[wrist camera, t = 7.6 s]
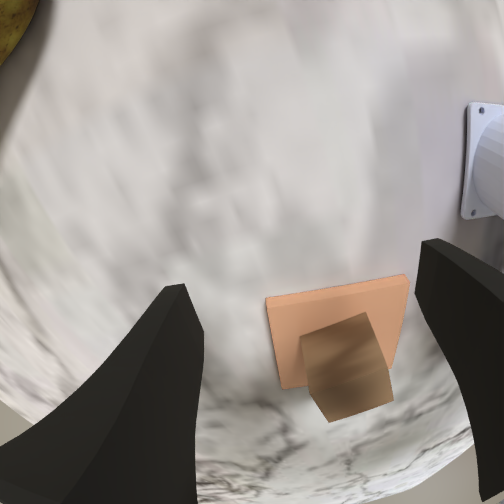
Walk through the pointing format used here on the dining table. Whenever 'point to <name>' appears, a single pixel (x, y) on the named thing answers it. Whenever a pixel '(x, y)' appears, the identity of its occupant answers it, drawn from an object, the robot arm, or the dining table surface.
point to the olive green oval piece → (14, 23)
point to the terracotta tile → (334, 319)
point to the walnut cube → (346, 368)
